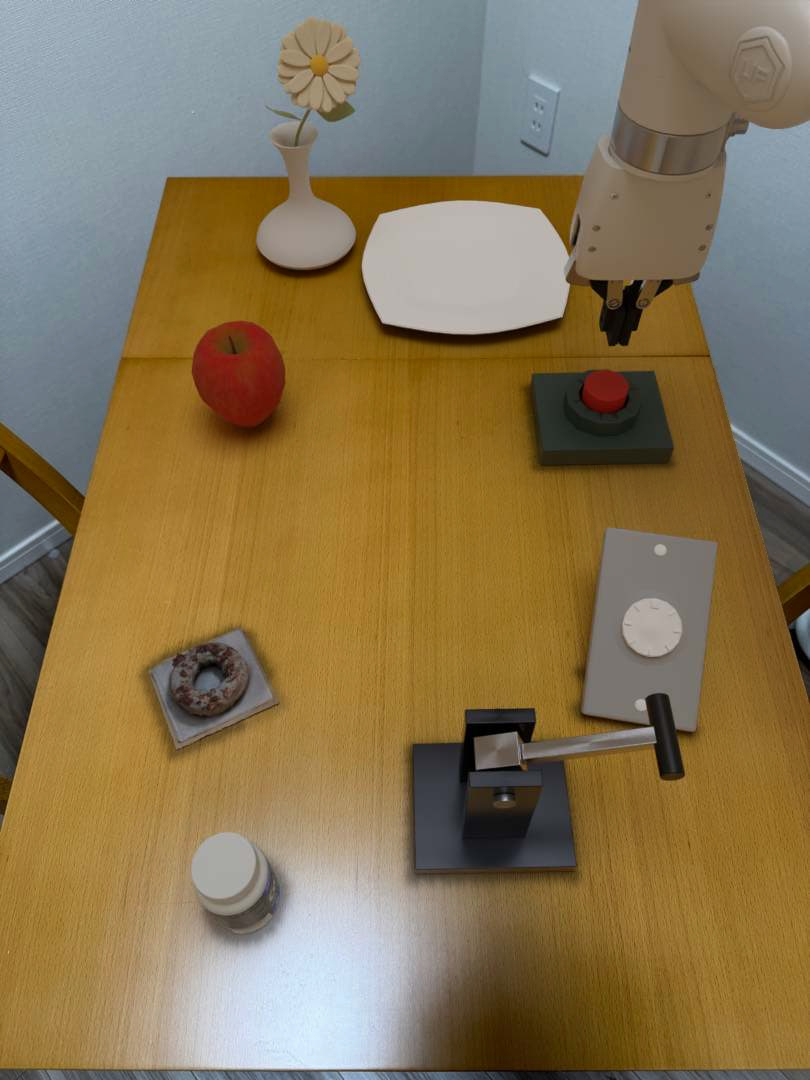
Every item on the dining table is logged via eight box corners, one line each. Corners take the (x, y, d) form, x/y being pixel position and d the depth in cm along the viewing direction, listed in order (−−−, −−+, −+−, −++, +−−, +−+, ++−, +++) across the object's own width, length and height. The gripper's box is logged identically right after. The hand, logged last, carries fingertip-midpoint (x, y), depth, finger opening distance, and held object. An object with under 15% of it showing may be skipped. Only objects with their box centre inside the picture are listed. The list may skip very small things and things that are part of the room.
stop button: (621, 382, 81) (624, 369, 80) (628, 413, 79) (632, 400, 77) (579, 383, 81) (581, 369, 80) (584, 414, 79) (587, 401, 77)
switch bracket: (558, 746, 64) (583, 677, 55) (574, 871, 59) (604, 818, 49) (412, 749, 64) (411, 680, 55) (415, 874, 59) (414, 822, 50)
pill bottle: (292, 910, 58) (275, 880, 51) (228, 948, 57) (201, 922, 50) (263, 848, 60) (243, 811, 53) (201, 883, 59) (172, 849, 52)
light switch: (582, 715, 64) (607, 524, 65) (575, 709, 70) (598, 534, 71) (699, 734, 63) (722, 540, 64) (681, 726, 69) (703, 548, 70)
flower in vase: (252, 279, 96) (206, 47, 76) (265, 218, 103) (227, -11, 82) (367, 281, 96) (353, 47, 75) (373, 219, 102) (362, -11, 82)
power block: (649, 386, 86) (658, 356, 82) (668, 463, 80) (679, 434, 77) (529, 389, 86) (534, 359, 82) (540, 465, 80) (545, 437, 77)
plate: (362, 351, 89) (361, 336, 88) (361, 217, 102) (361, 203, 101) (583, 343, 89) (586, 329, 88) (553, 211, 103) (556, 196, 101)
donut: (244, 625, 71) (239, 613, 69) (278, 704, 67) (275, 692, 65) (146, 667, 69) (139, 655, 67) (176, 750, 65) (169, 740, 63)
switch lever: (670, 703, 53) (667, 687, 51) (686, 782, 50) (684, 768, 49) (480, 729, 56) (471, 715, 54) (486, 805, 53) (477, 793, 52)
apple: (231, 379, 87) (209, 293, 78) (308, 398, 85) (295, 313, 77) (192, 439, 83) (164, 355, 74) (272, 460, 81) (254, 377, 72)
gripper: (762, 101, 61) (692, 304, 76) (553, 103, 61) (524, 307, 76) (791, 161, 57) (711, 364, 72) (566, 164, 57) (533, 367, 72)
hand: (615, 334), depth 74 cm, fingers closed
